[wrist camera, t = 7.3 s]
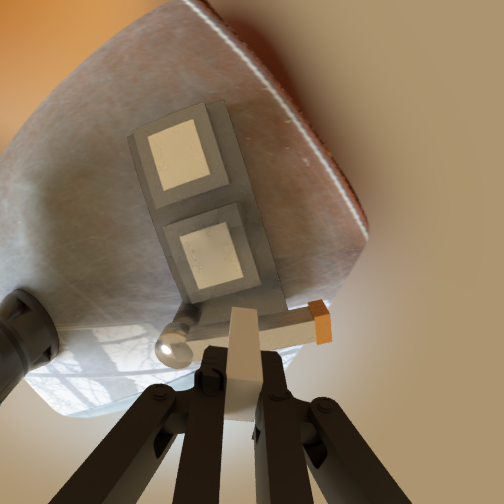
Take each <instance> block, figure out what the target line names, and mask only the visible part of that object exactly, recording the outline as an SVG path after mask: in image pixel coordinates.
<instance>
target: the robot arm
mask: <svg viewBox="0 0 504 504" xmlns="http://www.w3.org/2000/svg"><path fill="white" fill-rule="evenodd" d="M58 350H59V340H58V336H57V332H56V329H55V327H54V324H53V322H52V320H51V318H50V317H49V315H48V313H47V312H46V311H45V309H44V308H43V307H42V305H41V304H40V303H39V302H38V301H37V300H36V299H35V298H34V297H33V296H31V295H30V294H29V293H27V292H25V291H22V290H15V291H13V292H11V293H10V294H8V295H7V296H6V297H5V298H4V299H3V300H2V302H1V303H0V406H1V403H2V402H3V401H4V399H5V398H6V397H7V396H8V395H9V393H10V392H11V391H12V390H13V389H14V387H15V386H16V385H17V384H18V383H19V382H20V381H21V380H22V378H23V377H24V376H25V375H26V374H27V373H28V372H29V371H32V370H34V369H36V368H39V367H41V366H44V365H46V364H48V363H49V362H51V361H52V360H53V358H54V357H55V356H56V355H57V353H58ZM224 419H227V420H236V421H250V422H254V419H255V428H254V432H253V436H252V439H253V440H254V450H255V477H256V502H257V504H314V501H313V496H312V491H311V485H310V480H309V475H308V470H307V465H308V467H309V469H310V471H311V473H312V475H313V477H314V479H315V481H316V482H317V484H318V486H319V488H320V490H321V492H322V494H323V495H324V497H325V499H326V501H327V503H328V504H412V503H411V501H410V500H409V499H408V498H407V496H406V495H405V494H404V492H403V491H402V490H401V488H400V487H399V486H398V484H397V483H396V482H395V480H394V479H393V478H392V476H391V475H390V474H389V472H388V471H387V470H386V468H385V467H384V466H383V464H382V463H381V462H380V460H379V459H378V458H377V456H376V455H375V454H374V452H373V451H372V450H371V448H370V447H369V446H368V444H367V443H366V441H365V440H364V439H363V437H362V436H361V435H360V434H359V432H358V431H357V429H356V428H355V426H354V425H353V424H352V422H351V421H350V420H349V418H348V417H347V415H346V414H345V413H344V411H343V410H342V409H341V407H340V406H339V404H338V403H337V402H336V401H335V400H333V399H331V398H327V397H318V398H315V399H314V400H313V401H312V402H311V403H310V402H306V401H302V400H299V399H296V398H294V397H293V395H292V393H291V392H290V391H289V390H288V389H287V384H286V379H285V374H284V369H283V363H282V358H281V356H280V355H279V354H278V353H277V352H276V351H263V350H260V339H259V328H258V317H257V309H249V308H240V307H232V313H231V321H230V330H229V338H228V348H227V347H218V346H211V345H209V346H208V347H207V348H206V349H205V350H204V353H203V358H202V362H201V366H200V368H199V369H198V370H196V372H195V375H194V387H193V388H191V389H189V390H185V391H175V390H174V389H173V388H172V387H170V386H168V385H166V384H153V385H150V386H149V387H147V388H146V389H145V390H144V392H143V393H142V394H141V395H140V396H139V397H138V399H137V400H136V401H135V402H134V403H133V405H132V406H131V407H130V408H129V409H128V411H127V412H126V413H125V414H124V415H123V416H122V418H121V419H120V420H119V421H118V422H117V424H116V425H115V426H114V427H113V428H112V429H111V431H110V432H109V433H108V434H107V435H106V437H105V438H104V439H103V440H102V441H101V442H100V444H99V445H98V446H97V447H96V448H95V450H94V451H93V452H92V453H91V454H90V455H89V457H88V458H87V459H86V460H85V462H83V464H82V465H81V466H80V467H79V468H78V469H77V471H76V472H75V473H74V474H73V475H72V476H71V478H70V479H69V480H68V481H67V483H65V485H64V486H63V487H62V488H61V489H60V490H59V492H58V493H57V494H56V495H55V496H54V497H53V498H52V500H51V501H50V502H49V503H48V504H136V502H137V500H138V499H139V498H140V496H141V494H142V493H143V491H144V490H145V488H146V486H147V485H148V483H149V482H150V480H151V478H152V477H153V475H154V473H155V472H156V470H157V469H158V467H159V465H160V464H161V462H162V460H163V459H164V457H165V455H166V454H167V452H168V450H169V449H170V447H171V445H172V443H173V442H174V440H175V439H176V436H177V434H183V433H185V436H184V441H183V446H182V452H181V457H180V463H179V468H178V473H177V479H176V484H175V490H174V496H173V502H172V504H219V490H220V472H221V454H222V439H223V424H224ZM306 464H307V465H306Z"/></svg>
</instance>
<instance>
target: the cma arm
mask: <svg viewBox="0 0 504 504" xmlns="http://www.w3.org/2000/svg"><path fill="white" fill-rule="evenodd" d="M257 317H258V328H259V339H260V350H263V351H270V350H276V349H281V348H287V347H292V346H297V345H301V344H306V343H310V342H315V341H316V343H317V345H319V344H323V343H328V342H331V341H332V335H331V320H330V313H329V311H328V309H327V308H326V306H325V304H324V302H323V301H322V299H321V300H317V301H312V302H308V306H307V307H302V308H298V309H293V310H288V311H283V312H277V313H272V314H267V315H261V316H257ZM229 330H230V321H226V322H220V323H213V324H206V325H199V326H192V327H190V326H189V325H187V324H185V323H181V322H172V323H170V324H168V325H166V326H165V328H164V329H163V331H162V333H161V335H160V337H159V339H158V341H157V343H156V345H155V354H156V356H157V358H158V359H159V360H160V361H161V362H162V363H163V364H164V365H166V366H168V367H171V368H175V369H181V368H185V367H187V366H189V365H190V364H191V362H192V361H201V360H202V358H203V353H204V350H205V349H206V348H207V347H208V346H209V345H211V346H218V347H227V348H228V338H229Z"/></svg>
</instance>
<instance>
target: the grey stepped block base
mask: <svg viewBox="0 0 504 504" xmlns="http://www.w3.org/2000/svg"><path fill="white" fill-rule="evenodd" d="M127 139H128V143H129V147H130V150H131V154H132V157H133V161H134V164H135V168H136V171H137V174H138V178H139V181H140V184H141V188H142V191H143V194H144V197H145V200H146V203H147V206H148V209H149V212H150V215H151V218H152V221H153V224H154V227H155V229H156V232H157V235H158V238H159V241H160V243H161V246H162V249H163V251H164V254H165V257H166V259H167V262H168V264H169V267H170V270H171V272H172V275H173V277H174V280H175V282H176V285H177V287H178V289H179V292H180V294H181V297H182V299H183V301H182V303H181V305H180V307H179V309H178V311H177V313H176V315H175V317H174V319H173V321H172V322H181V323H185V324H187V325H189V326H190V327H192V326H199V325H206V324H213V323H220V322H226V321H231V313H232V307H240V308H249V309H257V316H261V315H267V314H272V313H277V312H283V311H288V308H287V304H286V301H285V297H284V294H283V290H282V287H281V283H280V280H279V276H278V273H277V269H276V266H275V263H274V259H273V256H272V252H271V249H270V246H269V242H268V239H267V235H266V232H265V229H264V225H263V222H262V219H261V216H260V212H259V209H258V206H257V202H256V199H255V196H254V193H253V189H252V186H251V183H250V180H249V176H248V173H247V170H246V167H245V164H244V160H243V157H242V154H241V151H240V148H239V145H238V141H237V138H236V135H235V132H234V129H233V126H232V123H231V120H230V117H229V113H228V110H227V107H226V104H225V101H224V100H221V101H218V102H214V103H211V104H208V105H205V103H204V102H202V103H199V104H196V105H193V106H191V107H188V108H185V109H182V110H180V111H177V112H175V113H172V114H170V115H167V116H165V117H162V118H160V119H157V120H155V121H153V122H150V123H148V124H146V125H143V126H141V127H139V128H137V129H135V130H133V135H131V136H128V137H127Z"/></svg>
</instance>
